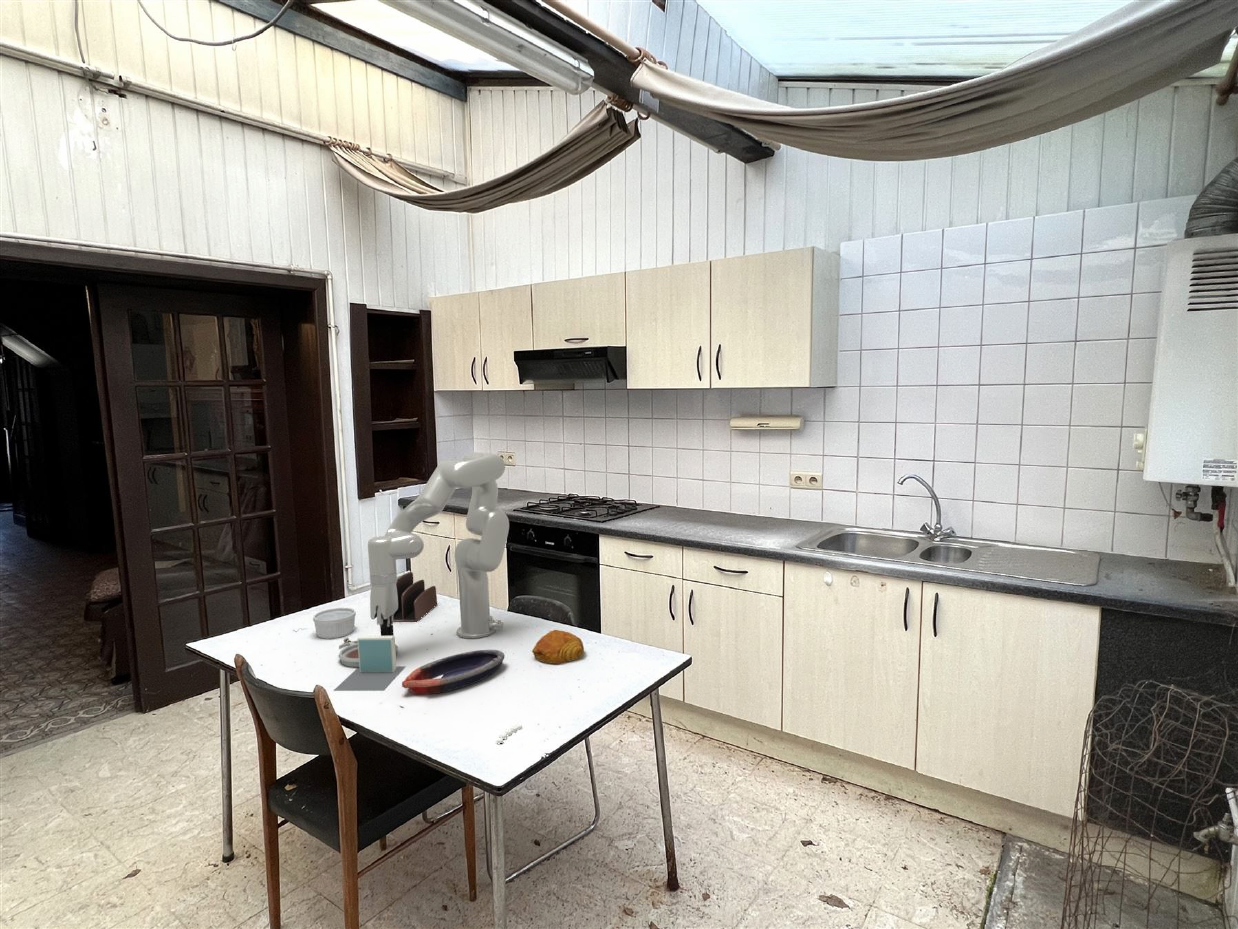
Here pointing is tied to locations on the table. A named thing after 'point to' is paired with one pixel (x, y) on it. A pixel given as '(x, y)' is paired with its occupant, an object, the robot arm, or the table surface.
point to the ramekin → (334, 622)
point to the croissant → (558, 647)
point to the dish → (454, 671)
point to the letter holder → (413, 599)
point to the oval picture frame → (351, 653)
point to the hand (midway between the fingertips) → (387, 638)
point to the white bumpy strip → (508, 733)
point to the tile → (377, 653)
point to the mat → (368, 680)
